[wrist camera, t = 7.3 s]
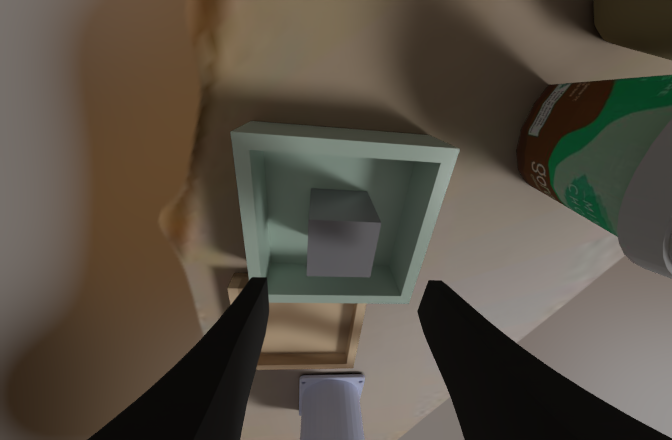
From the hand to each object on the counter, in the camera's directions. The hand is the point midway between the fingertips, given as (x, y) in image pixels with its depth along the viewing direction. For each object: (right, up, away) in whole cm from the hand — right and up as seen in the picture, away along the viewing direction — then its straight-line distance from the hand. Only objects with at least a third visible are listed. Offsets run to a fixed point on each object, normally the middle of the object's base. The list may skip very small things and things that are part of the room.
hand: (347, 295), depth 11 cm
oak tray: (-4, -6, +13) cm, 15 cm away
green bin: (0, +4, +8) cm, 9 cm away
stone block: (0, +4, +7) cm, 8 cm away
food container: (+15, +8, +7) cm, 18 cm away
